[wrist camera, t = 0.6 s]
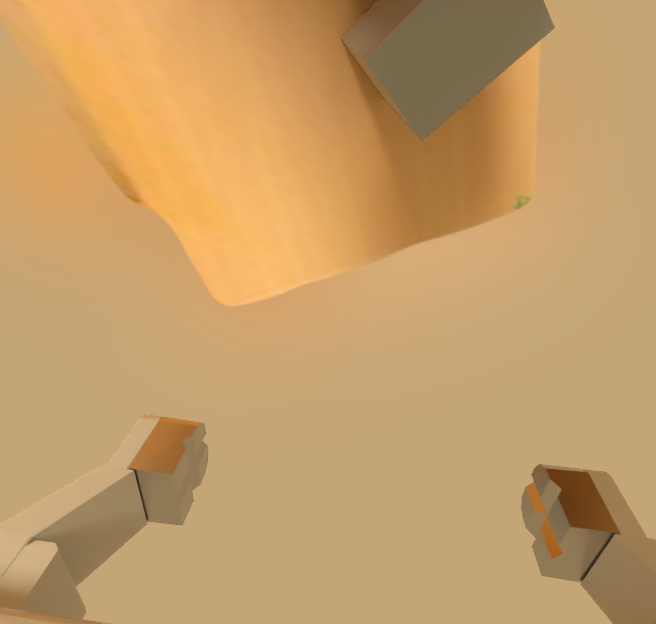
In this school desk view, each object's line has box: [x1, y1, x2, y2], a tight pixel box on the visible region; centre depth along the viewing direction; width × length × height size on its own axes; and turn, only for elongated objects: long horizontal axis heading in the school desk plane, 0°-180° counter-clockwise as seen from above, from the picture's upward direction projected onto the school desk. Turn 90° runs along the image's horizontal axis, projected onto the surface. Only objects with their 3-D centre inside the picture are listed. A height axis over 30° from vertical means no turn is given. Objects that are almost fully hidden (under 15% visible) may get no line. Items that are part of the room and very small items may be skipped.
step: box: [341, 0, 555, 141], centre depth 37 cm, size 8×12×16 cm, turn 131°
